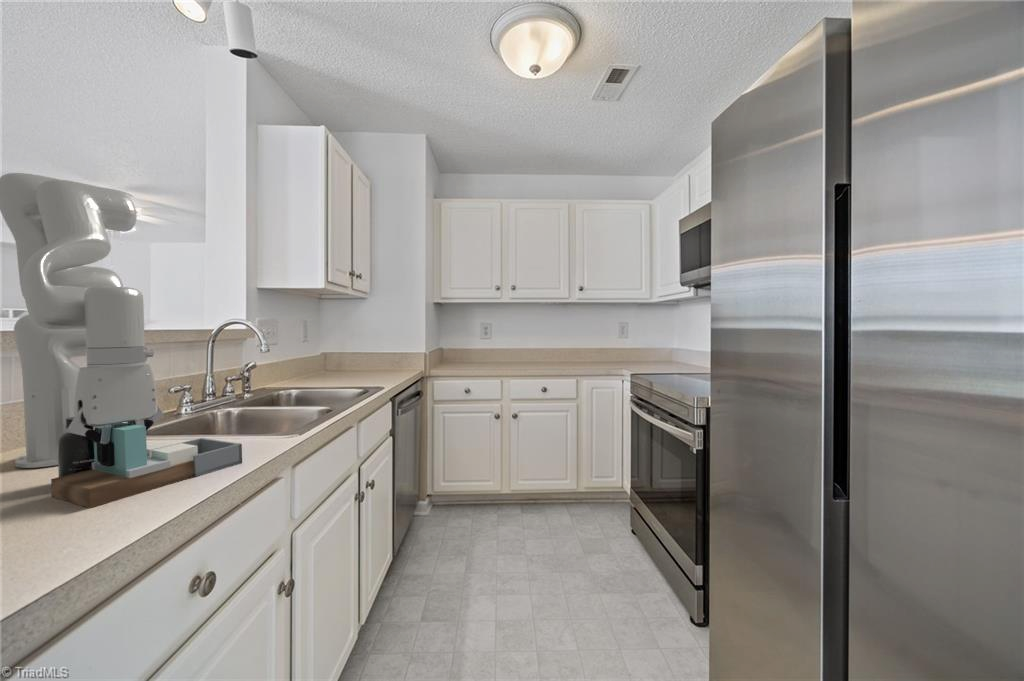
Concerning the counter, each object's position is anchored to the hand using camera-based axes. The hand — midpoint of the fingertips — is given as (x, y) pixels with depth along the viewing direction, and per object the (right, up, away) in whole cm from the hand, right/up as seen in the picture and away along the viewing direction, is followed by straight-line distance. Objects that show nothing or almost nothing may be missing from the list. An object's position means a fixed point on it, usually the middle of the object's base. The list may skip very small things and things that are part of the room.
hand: (120, 461), depth 74 cm
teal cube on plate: (+1, -2, +1) cm, 2 cm away
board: (0, -5, +1) cm, 5 cm away
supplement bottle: (-10, -5, +3) cm, 11 cm away
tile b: (+5, -2, +5) cm, 8 cm away
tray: (+5, -4, +12) cm, 14 cm away
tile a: (0, -2, +8) cm, 8 cm away
